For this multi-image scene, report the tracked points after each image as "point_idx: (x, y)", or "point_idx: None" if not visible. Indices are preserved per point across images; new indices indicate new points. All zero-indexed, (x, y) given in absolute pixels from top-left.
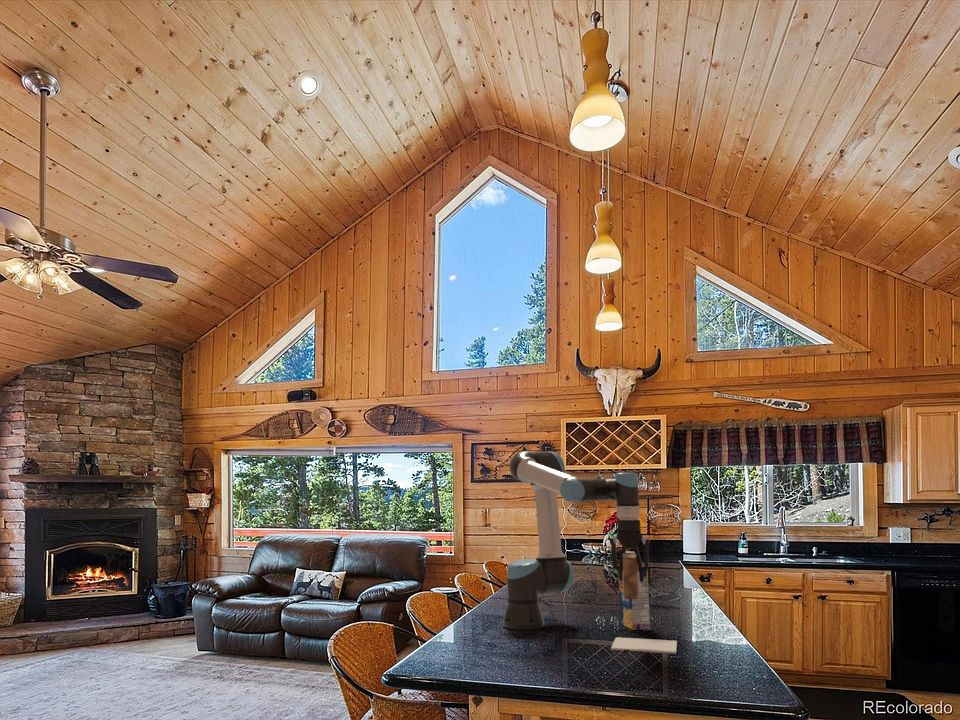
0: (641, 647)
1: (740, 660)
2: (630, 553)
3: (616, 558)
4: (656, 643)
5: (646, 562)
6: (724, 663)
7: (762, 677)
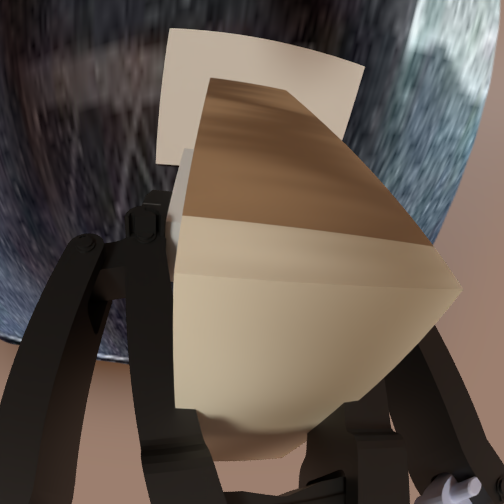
0: None
1: (423, 221)
2: (256, 443)
3: (85, 348)
4: (296, 98)
5: None
6: None
7: None
